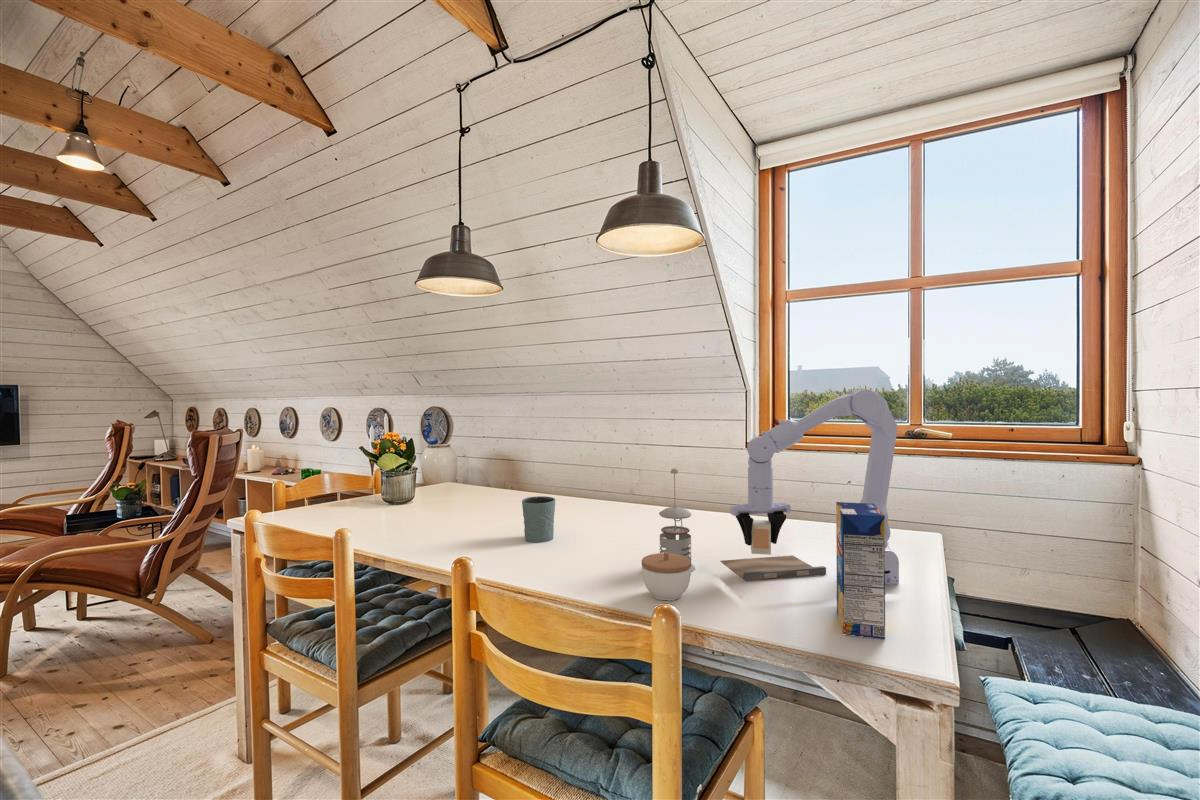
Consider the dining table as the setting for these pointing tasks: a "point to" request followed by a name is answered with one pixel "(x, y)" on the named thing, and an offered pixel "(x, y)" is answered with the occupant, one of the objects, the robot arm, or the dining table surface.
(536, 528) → the teal textured cup
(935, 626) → the dining table surface
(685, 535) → the french press
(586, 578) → the dining table surface
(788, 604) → the dining table surface
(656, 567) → the lidded jar
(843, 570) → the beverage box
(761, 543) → the carton
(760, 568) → the shelf board
